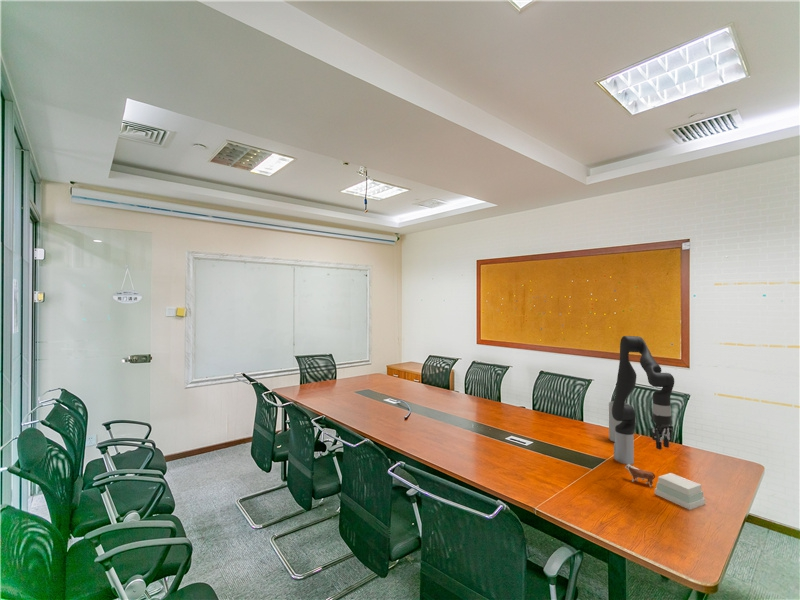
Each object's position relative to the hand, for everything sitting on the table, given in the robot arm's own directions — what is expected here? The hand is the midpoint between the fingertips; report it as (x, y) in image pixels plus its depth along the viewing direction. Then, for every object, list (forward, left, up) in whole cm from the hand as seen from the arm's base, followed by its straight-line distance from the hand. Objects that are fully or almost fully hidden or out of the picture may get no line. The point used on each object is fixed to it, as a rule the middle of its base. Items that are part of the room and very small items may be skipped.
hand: (662, 447), depth 177 cm
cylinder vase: (-53, +46, -22) cm, 74 cm away
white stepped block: (+7, +1, -22) cm, 23 cm away
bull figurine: (-11, 0, -22) cm, 25 cm away
